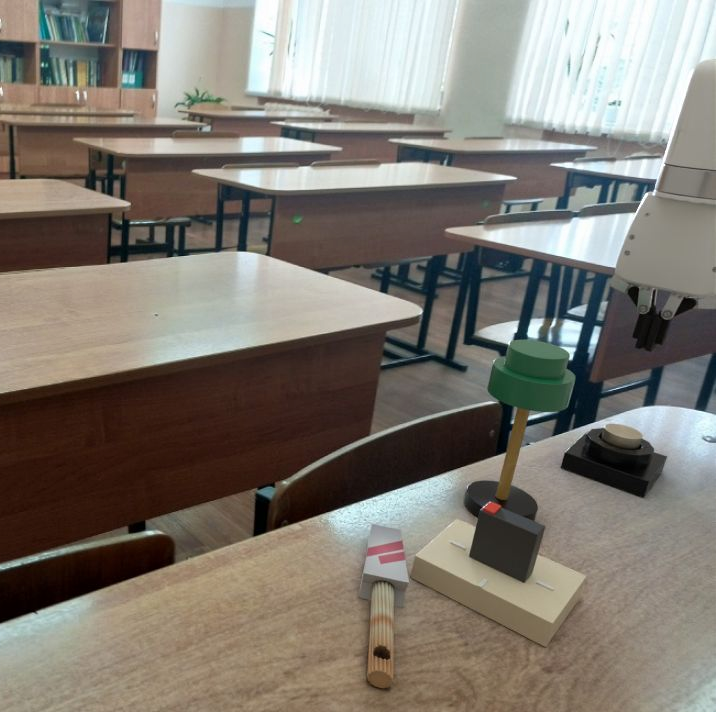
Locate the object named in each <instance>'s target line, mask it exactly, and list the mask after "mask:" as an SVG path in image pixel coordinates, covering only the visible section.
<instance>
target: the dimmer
mask: <svg viewBox="0 0 716 712" xmlns="http://www.w3.org/2000/svg"><path fill="white" fill-rule="evenodd" d="M475 529H476V525H473V524H470V523H469V522H465V521H463V520H461V519H458V518H456V519H454V521H452V523H450V524H449V525H448V526H447V527H446V528H445V529H443V530H442V531H441V532H440V533H439V534H438V535H436V536H435V538H433V539H432V540H431V541H430V542H428V544H426V545H425V546H424V547H423V548H422V549H421V550H419V551H418V552H417V553H416V554H415V555H414V559H413V564H412V568H411V573H410V579H412V580H414V581H416V582H418V583H420V584H423V585H424V586H426V587H428V588H430V589H432V590H433V591H436V592H438V593H439V594H442V595H444V596H445V597H447V598H449V599H451V600H453V601H455V602H457V603H458V604H461V605H463V606H465V607H466V608H468V609H470V610H472V611H474V612H477V613H478V614H480V615H482V616H484V617H486V618H488V619H490V620H492V621H493V622H496V623H497V624H499V625H502V626H504V627H505V628H507V629H509V630H511V631H513V632H515V633H517V634H519V635H521V636H523V637H525V638H526V639H529V640H531V641H533V642H534V643H536V644H538V645H540V646H541V647H544V648H546V647H547V646H548V645H549V643H550V642H551V640H553V638H554V636H555V635H556V633H557V632H558V631H559V630H560V627H561V626H562V625H563V623H564V622H565V621H566V619H567V617H568V616H569V615H570V613H571V612H572V611H573V609H574V608H575V606H576V604H578V602H579V600H580V598H581V596H582V593H583V590H584V586H585V584H586V579H587V577H588V576H587V575H585V574H584V573H581V572H579V571H576V570H574V569H572V568H569V567H567V566H566V565H562V564H560V563H558V562H557V561H553V560H552V559H549V558H547V557H545V556H543V555H540V554H538V555H537V559H536V562H535V566H534V569H533V573H532V574H531V575H530V577H529V578H528V579H527V580H526V581H525V582H522V581H520V580H518V579H516V578H513V577H511V576H509V575H507V574H505V573H503V572H501V571H499V570H496V569H494V568H492V567H490V566H488V565H486V564H484V563H482V562H479V561H477V560H475V559H473V558H471V557H469V554H470V549H471V545H472V541H473V537H474V533H475Z"/></svg>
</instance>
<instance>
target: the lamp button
mask: <svg viewBox="0 0 716 712" xmlns="http://www.w3.org/2000/svg"><path fill="white" fill-rule="evenodd" d="M603 428H604V429H603V433H602V436H601V441H603V442H605V443H607V444H608V445H610V446H614V447H617V448H620V449H625V450H638V449H639V446H640V443H641V440H642V439H643V433H642V432H641V431H639V430H638V429H636V428H634V427H631V426H628V425H624V424H620V423H607V424H605V425H604V426H603Z"/></svg>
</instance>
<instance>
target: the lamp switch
mask: <svg viewBox="0 0 716 712" xmlns="http://www.w3.org/2000/svg"><path fill="white" fill-rule="evenodd" d="M603 429H604V427H597V428H591V429H590V430H586V431H585V432H584V433H583V434H582V435H580V437H579V438H578V439H577V440H576V441H575V442H574V443H573V444H572V445H570V446H569V448H568V449H567V450H565V452H564V453H563V457H562V461H561V464H560V469H563V470H566V471H568V472H570V473H574V474H576V475H579V476H582V477H584V478H587V479H590V480H593V481H596V482H598V483H601V484H604V485H606V486H609V487H612V488H615V489H618V490H620V491H623V492H625V493H629V494H632V495H634V496H637V497H640V498H643V499H644V498H645V497H646V495H647V494H648V493H649V491H650V490H651V488H652V487H653V485H654V484H655V483H656V481H657V480H658V479H659V477H660V476H661V474H662V473H663V471H664V467H665V465H666V463H667V460H668V456H667V455H664V454H661V453H658V452H655V447H653V446H652V444H651V442H649V441H648V440H646V439H644V438H642V440H641V443H640V446H639V449H638V450H625V449H620V448H617V447H614V446H610V445H608V444H607V443H605V442H603V441H601V436H602V433H603Z"/></svg>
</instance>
